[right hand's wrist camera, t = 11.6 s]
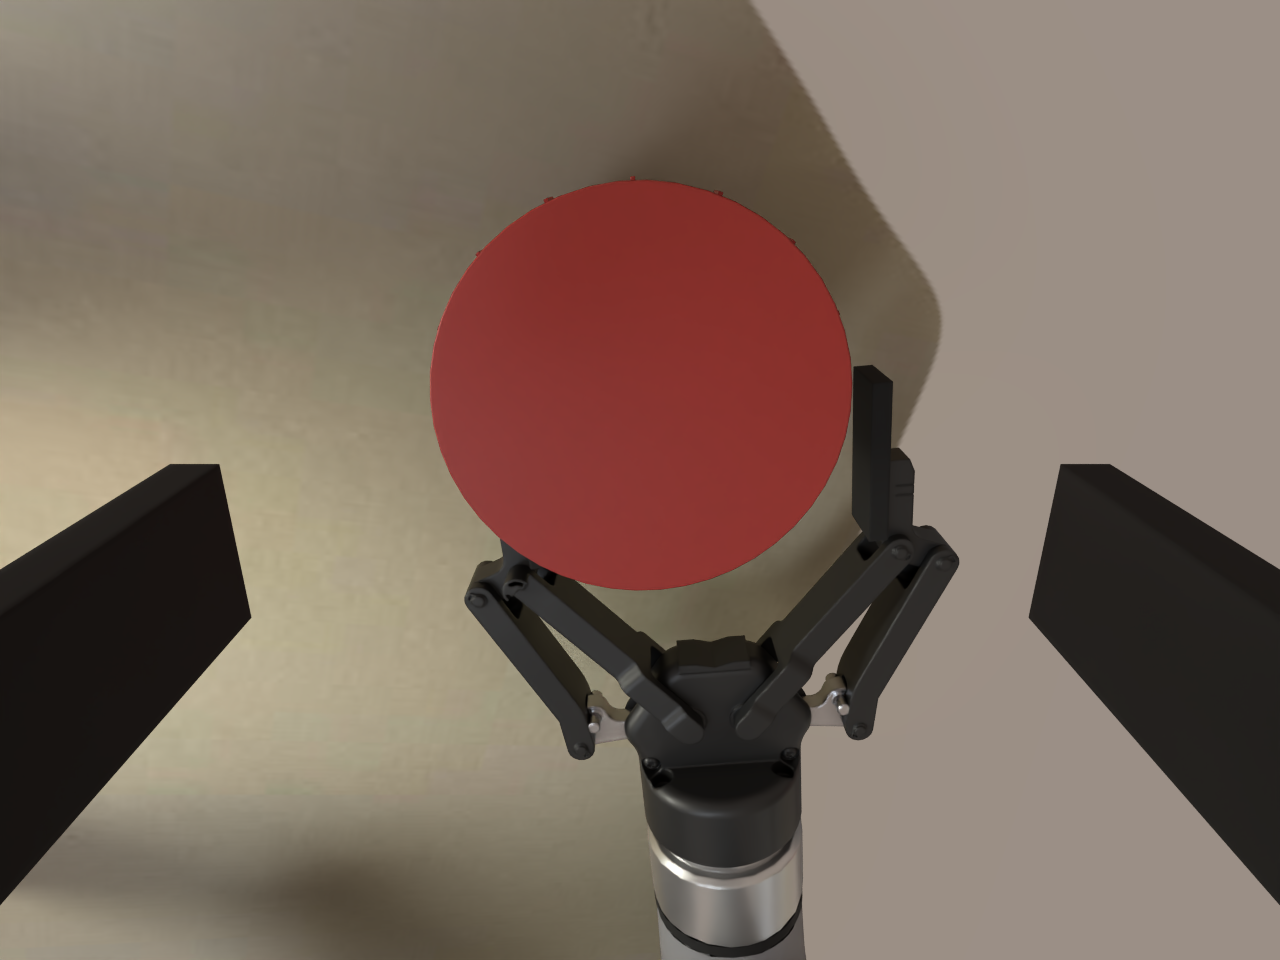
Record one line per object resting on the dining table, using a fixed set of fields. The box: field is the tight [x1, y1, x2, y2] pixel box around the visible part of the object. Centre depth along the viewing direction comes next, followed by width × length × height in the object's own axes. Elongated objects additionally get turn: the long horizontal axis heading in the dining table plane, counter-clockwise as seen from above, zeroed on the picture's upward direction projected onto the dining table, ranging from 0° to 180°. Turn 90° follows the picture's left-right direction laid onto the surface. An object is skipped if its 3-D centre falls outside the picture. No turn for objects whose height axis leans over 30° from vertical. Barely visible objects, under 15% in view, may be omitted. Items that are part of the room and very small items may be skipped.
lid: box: [430, 176, 852, 590], centre depth 21 cm, size 11×11×2 cm
